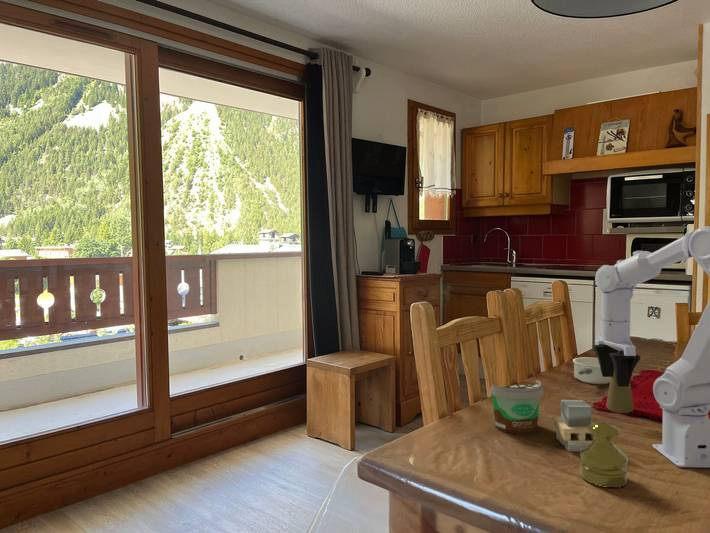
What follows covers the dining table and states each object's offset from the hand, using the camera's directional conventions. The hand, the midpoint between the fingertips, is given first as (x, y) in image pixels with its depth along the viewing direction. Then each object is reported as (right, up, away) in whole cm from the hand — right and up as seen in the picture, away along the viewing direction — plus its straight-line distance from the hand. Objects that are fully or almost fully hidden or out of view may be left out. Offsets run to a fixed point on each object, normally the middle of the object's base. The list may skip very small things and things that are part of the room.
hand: (614, 381), depth 113 cm
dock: (-13, -11, -10) cm, 19 cm away
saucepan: (+10, -8, +33) cm, 36 cm away
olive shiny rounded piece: (-15, -12, -25) cm, 31 cm away
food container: (-21, -11, -2) cm, 24 cm away
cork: (+7, -10, +11) cm, 16 cm away
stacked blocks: (-13, -9, -10) cm, 18 cm away
